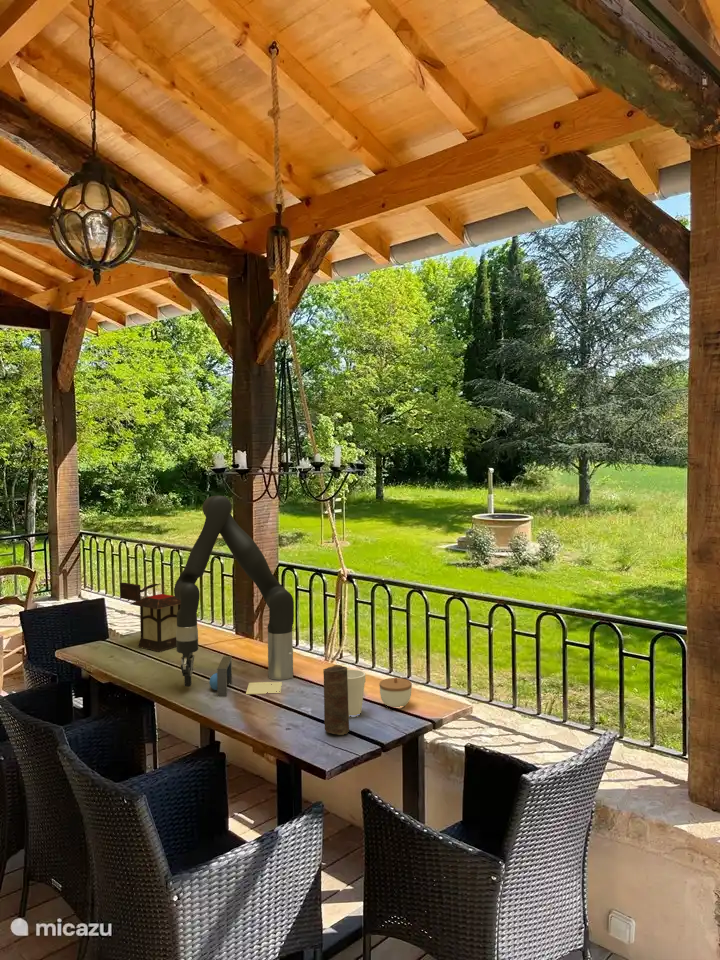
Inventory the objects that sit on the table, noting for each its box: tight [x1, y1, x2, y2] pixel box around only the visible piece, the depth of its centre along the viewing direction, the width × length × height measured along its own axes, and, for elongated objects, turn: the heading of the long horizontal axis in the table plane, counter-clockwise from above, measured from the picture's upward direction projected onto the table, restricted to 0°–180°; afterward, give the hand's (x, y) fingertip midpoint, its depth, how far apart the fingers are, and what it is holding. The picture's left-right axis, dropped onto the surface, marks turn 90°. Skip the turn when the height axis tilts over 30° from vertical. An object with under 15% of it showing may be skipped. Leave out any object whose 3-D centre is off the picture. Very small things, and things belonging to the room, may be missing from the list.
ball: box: [209, 672, 218, 691], centre depth 252 cm, size 6×6×6 cm
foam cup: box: [347, 668, 366, 715], centre depth 228 cm, size 10×9×13 cm
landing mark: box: [245, 681, 283, 695], centre depth 253 cm, size 12×12×1 cm
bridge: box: [216, 655, 233, 697], centre depth 252 cm, size 3×15×10 cm, turn 3°
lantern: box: [119, 582, 181, 653], centre depth 306 cm, size 18×26×30 cm
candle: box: [323, 664, 350, 736], centre depth 212 cm, size 8×7×20 cm
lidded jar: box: [378, 677, 413, 707], centre depth 234 cm, size 11×11×9 cm
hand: (188, 685), depth 252 cm, fingers closed
